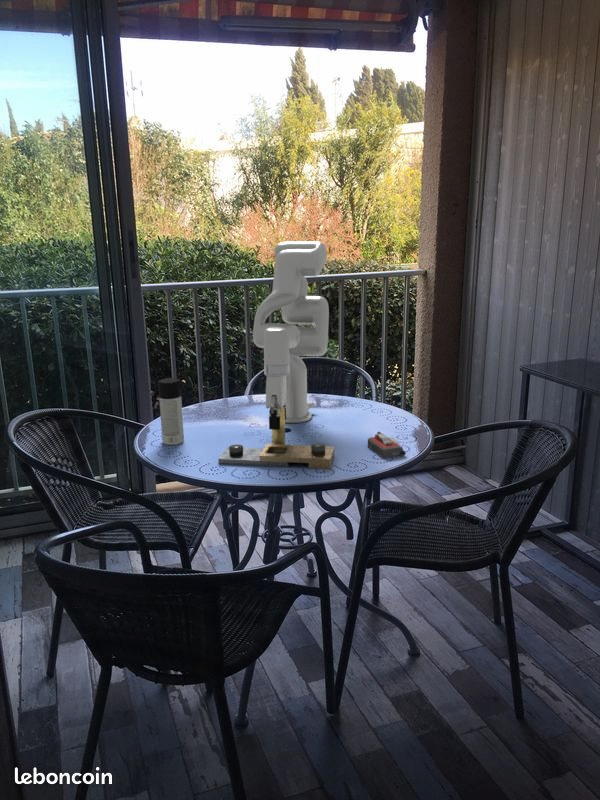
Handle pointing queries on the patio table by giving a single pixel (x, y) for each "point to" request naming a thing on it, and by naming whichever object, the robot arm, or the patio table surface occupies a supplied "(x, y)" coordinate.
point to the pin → (279, 435)
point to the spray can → (171, 411)
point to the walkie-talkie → (385, 446)
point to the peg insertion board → (279, 455)
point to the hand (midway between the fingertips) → (277, 424)
